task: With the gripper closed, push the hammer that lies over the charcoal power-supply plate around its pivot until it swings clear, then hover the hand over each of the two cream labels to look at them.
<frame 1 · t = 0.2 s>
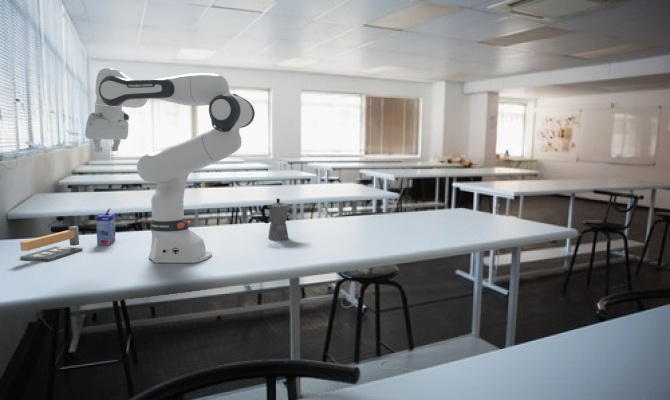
hand: (106, 151, 165), 39 cm above the table, tool pointing down, fingers open, 8 cm apart
coffeepot: (276, 238, 199), on the table
hammer: (52, 241, 166), point 5 cm above the table, hinge at 0.0°
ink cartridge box: (107, 243, 187), on the table
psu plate: (52, 254, 166), on the table
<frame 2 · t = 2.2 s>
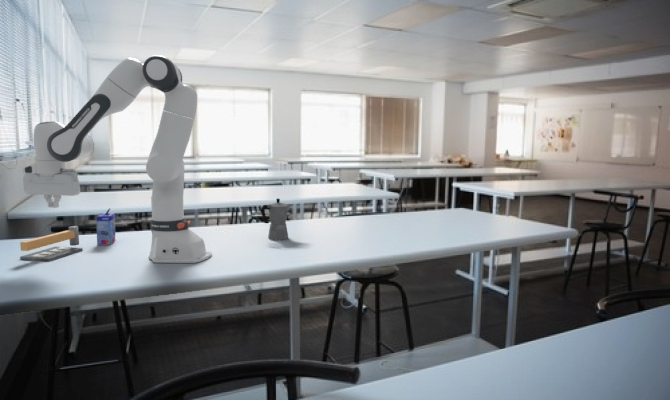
hand: (53, 207, 158), 19 cm above the table, tool pointing down, fingers closed
nothing on the table moved.
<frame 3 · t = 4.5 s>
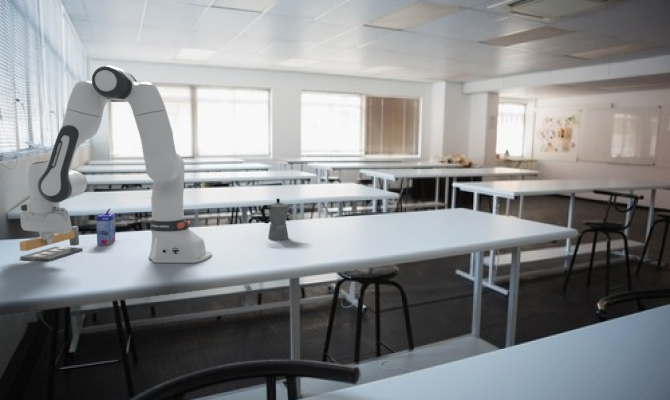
hand: (47, 244, 160), 5 cm above the table, tool pointing down, fingers closed
hammer: (52, 241, 166), point 5 cm above the table, hinge at 0.7°, touching gripper
everything else where it was.
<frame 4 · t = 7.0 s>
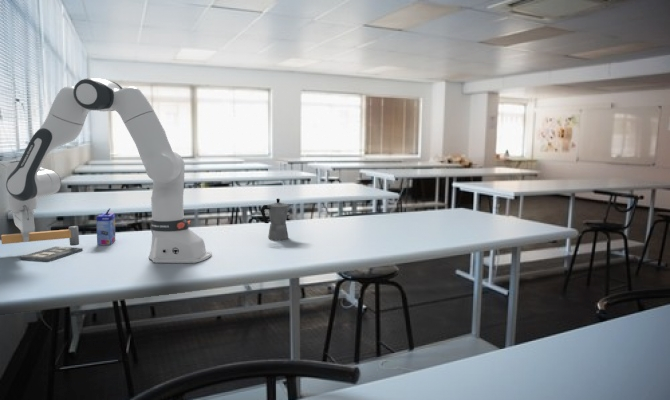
hand: (25, 241, 165), 5 cm above the table, tool pointing down, fingers closed
hammer: (41, 238, 170), point 5 cm above the table, hinge at 46.8°, touching gripper
everything else where it was.
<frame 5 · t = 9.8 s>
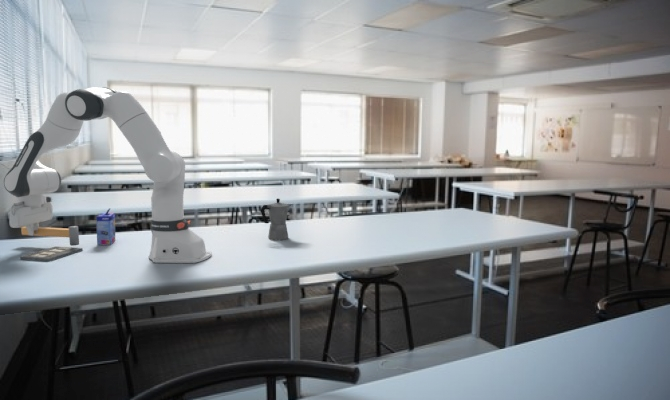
hand: (33, 234, 176), 5 cm above the table, tool pointing down, fingers closed
hammer: (50, 234, 178), point 5 cm above the table, hinge at 90.0°, touching gripper
everything else where it was.
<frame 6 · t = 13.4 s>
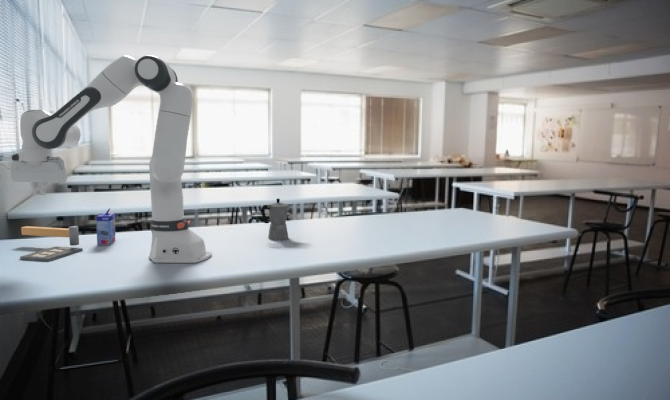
hand: (40, 194, 160), 23 cm above the table, tool pointing down, fingers closed
hammer: (50, 234, 178), point 5 cm above the table, hinge at 90.0°
everything else where it was.
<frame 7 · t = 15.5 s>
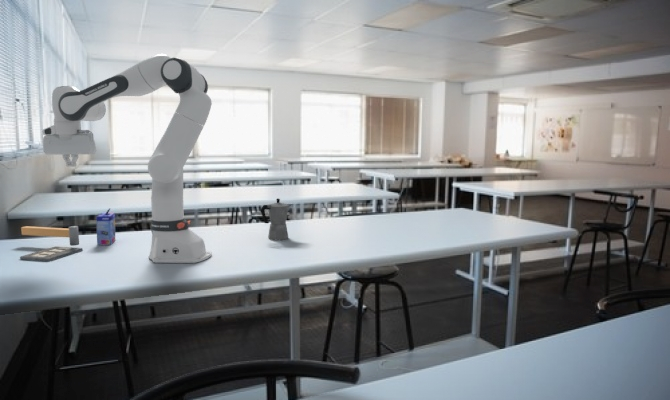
hand: (71, 166, 171), 33 cm above the table, tool pointing down, fingers closed
nothing on the table moved.
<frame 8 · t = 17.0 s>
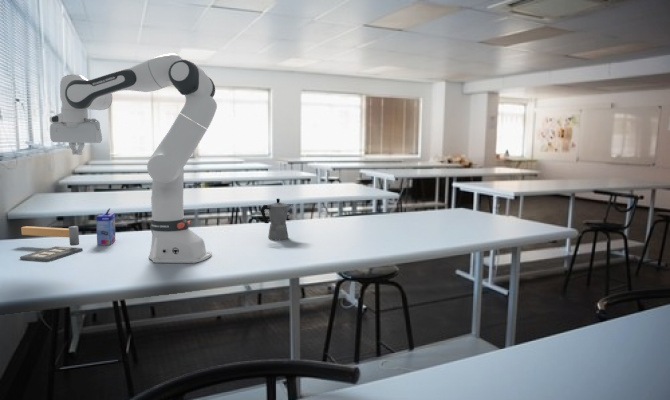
hand: (77, 154, 172), 37 cm above the table, tool pointing down, fingers closed
nothing on the table moved.
at the end: hammer at +90° (first picture: +0°); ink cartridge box moved 0.3 cm from its start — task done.
